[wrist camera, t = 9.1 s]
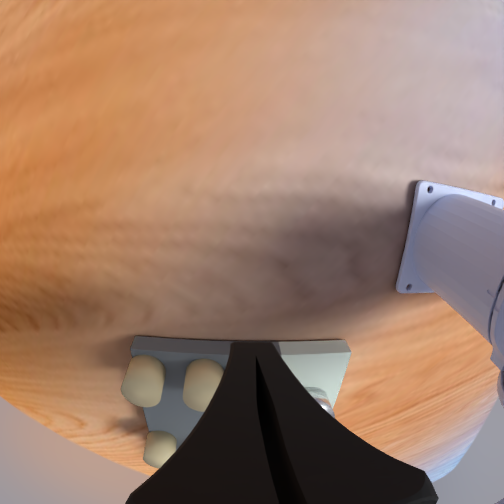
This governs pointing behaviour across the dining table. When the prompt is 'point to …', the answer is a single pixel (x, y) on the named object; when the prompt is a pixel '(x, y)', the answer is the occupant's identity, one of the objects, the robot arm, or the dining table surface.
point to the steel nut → (321, 398)
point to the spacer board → (175, 380)
